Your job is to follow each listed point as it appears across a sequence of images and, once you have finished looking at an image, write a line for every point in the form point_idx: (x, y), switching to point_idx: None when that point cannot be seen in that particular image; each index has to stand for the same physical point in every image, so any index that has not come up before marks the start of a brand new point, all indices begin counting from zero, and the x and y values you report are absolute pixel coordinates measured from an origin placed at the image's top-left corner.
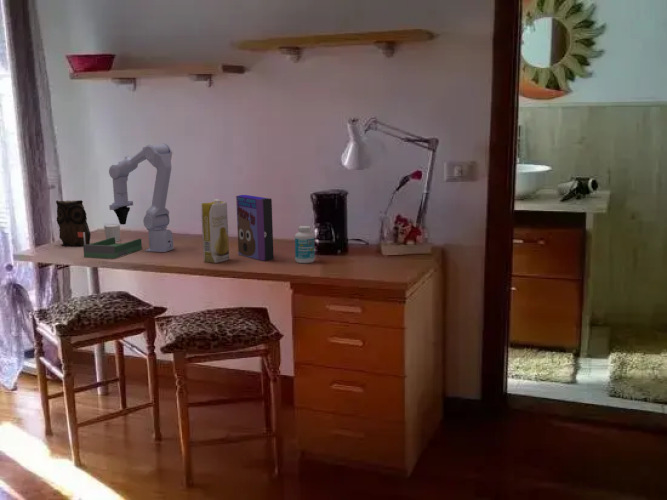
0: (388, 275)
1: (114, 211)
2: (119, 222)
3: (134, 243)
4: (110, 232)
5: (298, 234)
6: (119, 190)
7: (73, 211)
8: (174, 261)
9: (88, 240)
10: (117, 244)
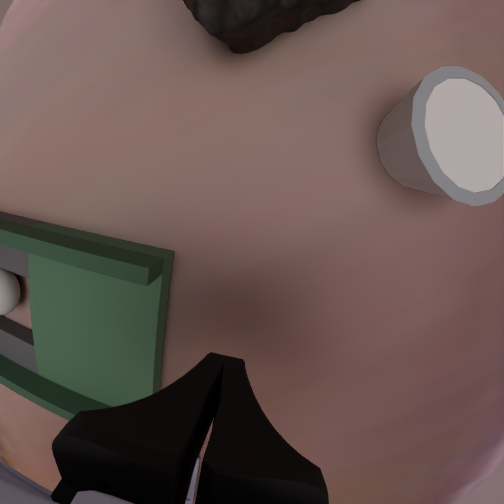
0: None
1: (93, 413)
2: (201, 360)
3: None
4: (396, 140)
5: None
6: None
7: None
8: (46, 487)
9: (223, 40)
10: (125, 305)
